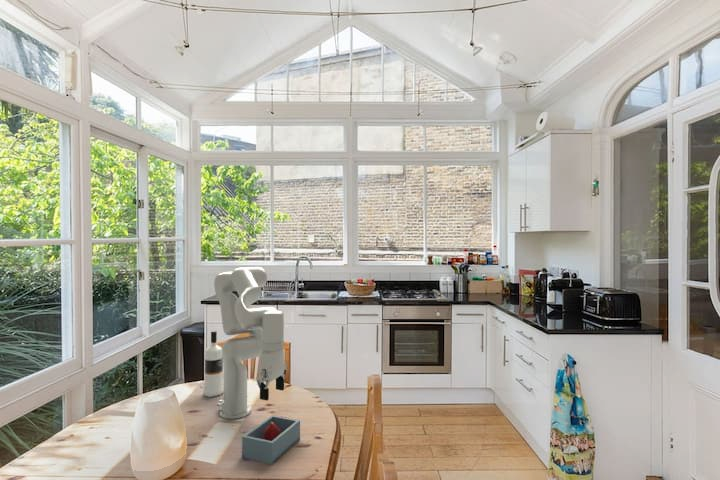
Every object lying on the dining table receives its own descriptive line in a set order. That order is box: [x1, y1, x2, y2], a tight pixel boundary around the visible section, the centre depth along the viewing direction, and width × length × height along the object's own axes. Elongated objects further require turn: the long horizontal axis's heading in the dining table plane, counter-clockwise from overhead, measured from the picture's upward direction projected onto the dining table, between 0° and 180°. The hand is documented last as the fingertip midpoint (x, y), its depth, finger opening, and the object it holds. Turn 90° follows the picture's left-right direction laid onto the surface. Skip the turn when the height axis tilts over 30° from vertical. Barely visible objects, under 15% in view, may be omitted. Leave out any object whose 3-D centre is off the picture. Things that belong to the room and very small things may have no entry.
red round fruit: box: [264, 422, 281, 441], centre depth 141 cm, size 6×6×8 cm
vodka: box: [202, 330, 224, 398], centre depth 191 cm, size 9×9×30 cm
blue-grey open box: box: [241, 414, 301, 465], centre depth 140 cm, size 12×18×7 cm, turn 159°
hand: (272, 394), depth 141 cm, fingers open, 9 cm apart
